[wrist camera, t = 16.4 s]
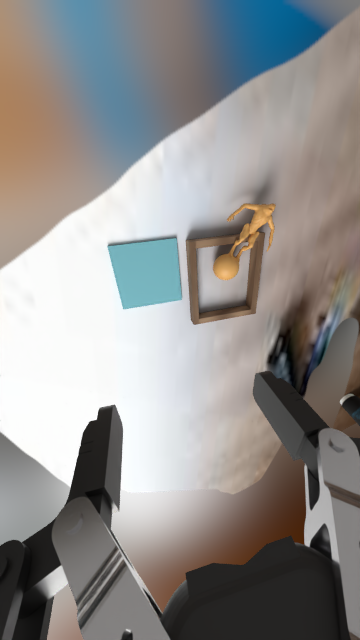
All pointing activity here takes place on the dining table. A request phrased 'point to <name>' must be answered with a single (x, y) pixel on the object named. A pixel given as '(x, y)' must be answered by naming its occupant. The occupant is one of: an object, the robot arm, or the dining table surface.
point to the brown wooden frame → (252, 278)
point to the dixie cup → (352, 406)
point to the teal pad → (146, 272)
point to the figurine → (229, 264)
